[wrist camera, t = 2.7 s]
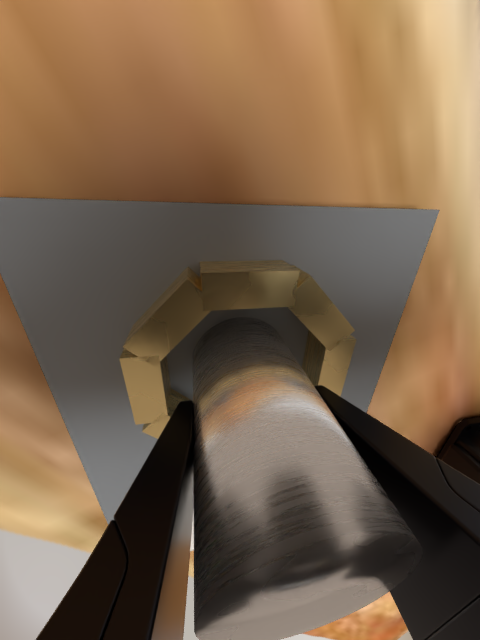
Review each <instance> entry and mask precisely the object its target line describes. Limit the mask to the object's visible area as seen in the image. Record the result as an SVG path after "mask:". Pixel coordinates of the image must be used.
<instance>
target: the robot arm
mask: <svg viewBox="0 0 480 640" xmlns="http://www.w3.org/2000/svg"><path fill="white" fill-rule="evenodd" d="M314 387H315V388H316V390H317V391H318V393H319V394H320V396H321V397H322V399H323V400H324V402H325V403H326V405H327V406H328V408H329V409H330V411H331V412H332V414H333V415H334V417H335V418H336V420H337V421H338V423H339V424H340V426H341V427H342V429H343V430H344V432H345V433H346V435H347V436H348V438H349V439H350V441H351V442H352V444H353V445H354V446H355V448H356V449H357V451H358V452H359V454H360V455H361V457H362V458H363V460H364V461H365V463H366V464H367V466H368V467H369V469H370V470H371V472H372V473H373V475H374V476H375V478H376V479H377V481H378V482H379V484H380V485H381V487H382V488H383V490H384V491H385V493H386V494H387V496H388V497H389V499H390V500H391V502H392V503H393V505H394V506H395V508H396V509H397V511H398V512H399V513H400V515H401V516H402V518H403V519H404V521H405V522H406V524H407V525H408V527H409V528H410V530H411V531H412V533H413V534H414V536H415V537H416V539H417V540H418V542H419V543H420V545H421V547H422V557H421V559H420V561H419V563H418V565H417V566H416V568H415V569H414V570H413V571H412V572H411V574H410V575H409V576H408V577H407V578H405V579H404V580H403V581H402V582H401V583H400V584H398V585H397V586H396V587H395V588H393V589H392V590H391V591H390V593H391V595H392V597H393V599H394V601H395V603H396V605H397V607H398V609H399V612H400V614H401V616H402V618H403V620H404V622H405V624H406V626H407V628H408V630H409V632H410V634H411V636H412V638H413V640H480V417H476V418H470V419H465V420H462V421H461V422H459V423H458V425H457V426H456V428H455V429H454V431H453V433H452V434H451V436H450V438H449V439H448V441H447V442H446V444H445V446H444V447H443V449H442V451H441V452H440V454H439V455H438V457H437V458H435V457H434V456H433V455H432V454H430V453H429V452H427V451H425V450H424V449H422V448H421V447H419V446H418V445H416V444H414V443H413V442H411V441H410V440H408V439H407V438H405V437H403V436H402V435H400V434H399V433H397V432H395V431H394V430H392V429H391V428H389V427H388V426H386V425H384V424H383V423H381V422H380V421H378V420H377V419H375V418H373V417H372V416H370V415H369V414H367V413H366V412H364V411H362V410H361V409H359V408H358V407H356V406H355V405H353V404H351V403H350V402H348V401H347V400H345V399H343V398H342V397H340V396H339V395H337V394H336V393H334V392H332V391H331V390H329V389H328V388H326V387H325V386H322V385H318V386H314ZM193 509H194V491H193V401H192V400H187V401H181V402H179V403H178V405H177V407H176V409H175V410H174V412H173V414H172V415H171V417H170V419H169V421H168V422H167V424H166V426H165V428H164V429H163V431H162V433H161V435H160V436H159V438H158V440H157V442H156V443H155V445H154V447H153V449H152V450H151V452H150V454H149V455H148V457H147V459H146V461H145V462H144V464H143V466H142V468H141V469H140V471H139V473H138V475H137V476H136V478H135V480H134V482H133V483H132V485H131V487H130V488H129V490H128V492H127V494H126V495H125V497H124V499H123V501H122V502H121V504H120V506H119V508H118V509H117V511H116V513H115V515H114V517H113V518H114V520H115V521H114V520H111V521H110V523H109V525H108V526H107V528H106V530H105V532H104V533H103V535H102V537H101V539H100V540H99V542H98V544H97V545H96V547H95V549H94V550H93V552H92V554H91V555H90V557H89V559H88V560H87V562H86V564H85V565H84V567H83V568H82V570H81V572H80V574H79V575H78V576H77V578H76V580H75V581H74V583H73V584H72V586H71V587H70V589H69V590H68V592H67V593H66V595H65V596H64V598H63V600H62V601H61V603H60V604H59V605H58V607H57V609H56V610H55V612H54V613H53V615H52V616H51V618H50V619H49V621H48V622H47V624H46V625H45V626H44V628H43V630H42V631H41V632H40V634H39V635H38V637H37V638H36V640H183V633H184V621H185V620H184V619H185V607H186V596H187V584H188V571H189V559H190V546H191V534H192V522H193Z"/></svg>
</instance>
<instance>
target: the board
mask: <svg viewBox="0 0 480 640" xmlns="http://www.w3.org/2000/svg"><path fill="white" fill-rule="evenodd" d="M438 213H439V210H427V209H392V208H357V207H322V206H287V205H252V204H217V203H182V202H147V201H112V200H77V199H42V198H7V197H0V274H1V276H2V278H3V281H4V283H5V285H6V288H7V290H8V292H9V295H10V297H11V299H12V301H13V304H14V306H15V308H16V311H17V313H18V315H19V318H20V320H21V322H22V325H23V327H24V329H25V332H26V334H27V336H28V339H29V341H30V343H31V346H32V348H33V350H34V353H35V355H36V357H37V360H38V362H39V364H40V367H41V369H42V371H43V374H44V376H45V378H46V381H47V383H48V385H49V388H50V390H51V392H52V395H53V397H54V399H55V402H56V404H57V406H58V409H59V411H60V413H61V416H62V418H63V420H64V423H65V425H66V427H67V430H68V432H69V434H70V436H71V439H72V441H73V443H74V446H75V448H76V450H77V453H78V455H79V457H80V460H81V462H82V464H83V467H84V469H85V471H86V474H87V476H88V478H89V481H90V483H91V485H92V488H93V490H94V492H95V495H96V497H97V499H98V502H99V504H100V506H101V509H102V511H103V513H104V516H105V518H106V520H107V523H108V525H109V523H110V521H111V520H114V518H113V517H114V515H115V513H116V511H117V509H118V508H119V506H120V504H121V502H122V501H123V499H124V497H125V495H126V494H127V492H128V490H129V488H130V487H131V485H132V483H133V482H134V480H135V478H136V476H137V475H138V473H139V471H140V469H141V468H142V466H143V464H144V462H145V461H146V459H147V457H148V455H149V454H150V452H151V450H152V449H153V447H154V445H155V443H156V442H157V440H158V439H157V438H155V437H152V436H150V435H148V434H146V433H144V432H142V429H143V425H144V424H138V425H135V421H134V417H133V413H132V409H131V405H130V400H129V396H128V392H127V388H126V384H125V380H124V376H123V372H122V368H121V363H120V359H119V358H120V356H121V354H122V352H123V350H124V348H123V345H124V343H125V341H126V339H127V337H128V335H129V333H130V331H131V329H132V327H133V325H134V324H135V323H136V322H137V321H138V319H139V318H140V317H141V316H142V315H143V314H144V313H145V312H146V311H147V310H148V309H149V308H150V307H151V306H152V304H153V303H154V302H155V301H156V300H157V299H158V298H159V297H160V296H161V295H162V294H163V293H164V292H165V291H166V290H167V288H168V287H169V286H170V285H171V284H172V283H173V282H174V281H175V280H176V279H177V278H178V277H179V276H180V275H181V273H182V272H183V271H184V270H185V269H186V268H187V267H189V268H190V269H191V270H192V271H193V272H194V273H196V274H197V275H198V276H199V277H200V261H269V260H283V261H285V262H286V263H288V264H290V265H291V266H292V265H294V266H296V267H297V268H299V269H301V270H302V271H304V272H306V273H307V274H309V275H311V276H312V278H313V279H314V280H315V281H316V283H317V284H318V285H319V286H320V288H321V289H322V290H323V291H324V292H325V294H326V295H327V296H328V297H329V299H330V300H331V301H332V302H333V304H334V305H335V306H336V307H337V309H338V310H339V311H340V312H341V313H342V315H343V316H344V317H345V318H346V320H347V321H348V322H349V323H350V325H351V326H352V327H353V328H354V330H355V331H354V332H353V333H351V334H350V335H352V336H353V337H354V338H355V339H357V340H356V343H355V347H354V350H353V354H352V357H351V361H350V365H349V368H348V372H347V375H346V379H345V382H344V386H343V389H342V393H341V396H340V397H342V398H343V399H345V400H347V401H348V402H350V403H351V404H353V405H355V406H356V407H358V408H359V409H361V410H362V411H364V412H366V413H367V410H368V407H369V404H370V401H371V399H372V396H373V393H374V390H375V388H376V385H377V382H378V379H379V377H380V374H381V371H382V368H383V365H384V363H385V360H386V357H387V354H388V352H389V349H390V346H391V343H392V340H393V338H394V335H395V332H396V329H397V327H398V324H399V321H400V318H401V316H402V313H403V310H404V307H405V304H406V302H407V299H408V296H409V293H410V291H411V288H412V285H413V282H414V280H415V277H416V274H417V271H418V268H419V266H420V263H421V260H422V257H423V255H424V252H425V249H426V246H427V243H428V241H429V238H430V235H431V232H432V230H433V227H434V224H435V221H436V219H437V216H438ZM200 278H201V277H200ZM236 317H251V318H256V319H260V320H262V321H265V322H266V323H268V324H270V325H271V326H272V327H274V328H275V330H276V331H277V332H278V333H279V335H280V336H281V338H282V339H283V341H284V342H285V344H286V345H287V347H288V348H289V350H290V351H291V353H292V354H293V356H294V357H295V359H296V360H297V362H298V363H299V365H300V366H301V368H302V365H303V359H304V353H305V347H306V342H307V336H308V330H309V329H308V328H307V327H306V326H305V325H304V324H303V323H302V322H301V321H300V320H299V319H298V318H297V317H296V316H295V314H294V313H293V312H292V311H291V310H290V309H289V308H288V307H273V308H253V309H233V310H213V311H211V312H210V313H209V314H207V315H206V316H205V317H204V318H203V319H202V320H201V321H200V322H199V323H198V324H197V325H196V326H195V327H194V328H193V329H192V330H191V331H190V332H189V333H188V334H187V335H186V336H185V337H184V338H183V339H182V340H181V341H180V342H179V343H178V344H177V345H176V346H175V347H174V348H173V349H172V350H171V351H170V352H169V353H168V354H167V362H168V369H169V377H170V384H171V389H173V390H175V391H177V392H178V393H180V394H182V395H183V396H185V397H187V398H189V399H190V400H192V401H193V353H194V350H195V347H196V345H197V343H198V341H199V340H200V338H201V337H202V336H203V334H204V333H205V332H206V331H208V330H209V329H210V328H211V327H213V326H214V325H216V324H218V323H220V322H222V321H225V320H227V319H231V318H236ZM114 521H115V520H114Z"/></svg>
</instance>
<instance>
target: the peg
mask: <svg viewBox="0 0 480 640" xmlns="http://www.w3.org/2000/svg"><path fill="white" fill-rule="evenodd" d="M193 491H194V632H195V634H196V637H197V638H198V639H199V640H280V639H284V638H287V637H291V636H294V635H298V634H301V633H304V632H307V631H310V630H313V629H315V628H318V627H321V626H324V625H326V624H328V623H331V622H333V621H336V620H338V619H340V618H343V617H345V616H347V615H349V614H351V613H353V612H355V611H357V610H359V609H361V608H363V607H365V606H367V605H368V604H370V603H372V602H374V601H375V600H377V599H378V598H380V597H382V596H383V595H385V594H386V593H388V592H389V591H391V590H392V589H393V588H395V587H396V586H397V585H398V584H400V583H401V582H402V581H403V580H404V579H405V578H407V577H408V576H409V575H410V574H411V572H412V571H413V570H414V569H415V568H416V566H417V565H418V563H419V561H420V559H421V557H422V547H421V545H420V543H419V542H418V540H417V539H416V537H415V536H414V534H413V533H412V531H411V530H410V528H409V527H408V525H407V524H406V522H405V521H404V519H403V518H402V516H401V515H400V513H399V512H398V511H397V509H396V508H395V506H394V505H393V503H392V502H391V500H390V499H389V497H388V496H387V494H386V493H385V491H384V490H383V488H382V487H381V485H380V484H379V482H378V481H377V479H376V478H375V476H374V475H373V473H372V472H371V470H370V469H369V467H368V466H367V464H366V463H365V461H364V460H363V458H362V457H361V455H360V454H359V452H358V451H357V449H356V448H355V446H354V445H353V444H352V442H351V441H350V439H349V438H348V436H347V435H346V433H345V432H344V430H343V429H342V427H341V426H340V424H339V423H338V421H337V420H336V418H335V417H334V415H333V414H332V412H331V411H330V409H329V408H328V406H327V405H326V403H325V402H324V400H323V399H322V397H321V396H320V394H319V393H318V391H317V390H316V388H315V387H314V385H313V384H312V382H311V381H310V379H309V378H308V377H307V375H306V374H305V372H304V371H303V369H302V368H301V366H300V365H299V363H298V362H297V360H296V359H295V357H294V356H293V354H292V353H291V351H290V350H289V348H288V347H287V345H286V344H285V342H284V341H283V339H282V338H281V336H280V335H279V333H278V332H277V331H276V330H275V328H274V327H272V326H271V325H270V324H268V323H266V322H265V321H262V320H260V319H256V318H251V317H236V318H231V319H227V320H225V321H222V322H220V323H218V324H216V325H214V326H213V327H211V328H210V329H209V330H208V331H206V332H205V333H204V334H203V336H202V337H201V338H200V340H199V341H198V343H197V345H196V347H195V350H194V353H193Z"/></svg>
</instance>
